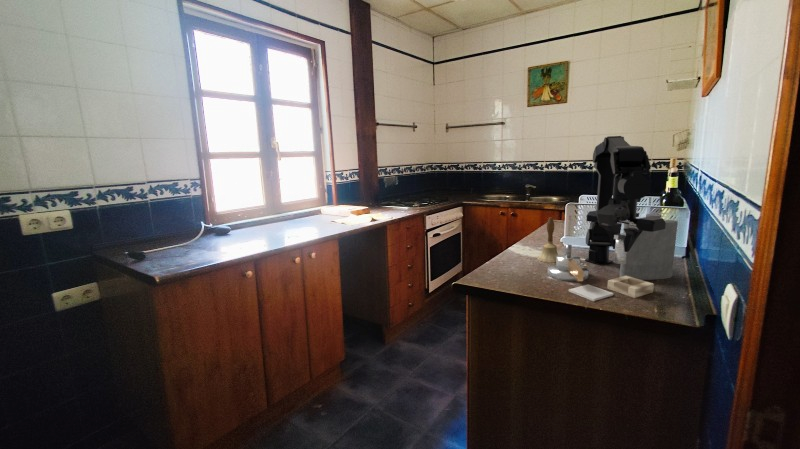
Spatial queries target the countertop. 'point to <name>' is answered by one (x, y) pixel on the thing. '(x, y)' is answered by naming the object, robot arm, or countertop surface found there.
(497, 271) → the countertop surface
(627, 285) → the socket
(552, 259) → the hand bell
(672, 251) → the hip flask
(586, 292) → the white square plate
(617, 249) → the shiny silver metal piece
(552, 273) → the base
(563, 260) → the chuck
